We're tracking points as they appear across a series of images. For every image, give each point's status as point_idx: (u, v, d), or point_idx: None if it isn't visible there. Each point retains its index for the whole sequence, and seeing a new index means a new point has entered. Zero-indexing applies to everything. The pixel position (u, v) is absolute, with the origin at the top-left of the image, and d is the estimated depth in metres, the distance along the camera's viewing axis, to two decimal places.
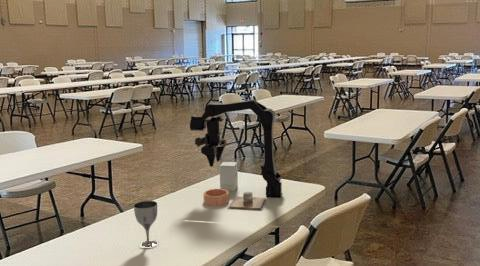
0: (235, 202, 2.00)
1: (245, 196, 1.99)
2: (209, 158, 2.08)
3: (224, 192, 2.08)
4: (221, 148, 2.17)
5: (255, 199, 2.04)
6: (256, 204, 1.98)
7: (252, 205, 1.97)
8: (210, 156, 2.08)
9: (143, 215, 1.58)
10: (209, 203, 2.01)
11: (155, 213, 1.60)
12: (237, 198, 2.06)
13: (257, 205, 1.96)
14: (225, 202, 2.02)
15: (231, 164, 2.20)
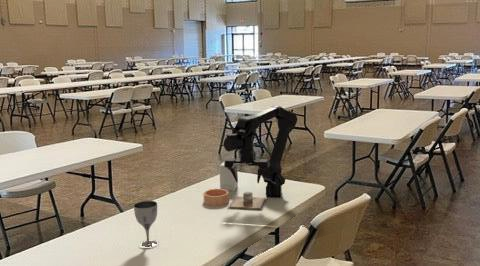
0: (235, 202, 2.00)
1: (245, 196, 1.99)
2: None
3: (224, 192, 2.08)
4: (258, 170, 1.95)
5: (255, 199, 2.04)
6: (256, 204, 1.98)
7: (252, 205, 1.97)
8: None
9: (143, 215, 1.58)
10: (209, 203, 2.01)
11: (155, 213, 1.60)
12: (237, 198, 2.06)
13: (257, 205, 1.96)
14: (225, 202, 2.02)
15: None
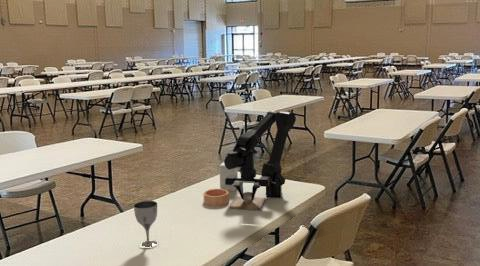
0: (235, 202, 2.00)
1: (245, 196, 1.99)
2: None
3: (224, 192, 2.08)
4: None
5: (255, 199, 2.04)
6: (256, 204, 1.98)
7: (252, 205, 1.97)
8: None
9: (143, 215, 1.58)
10: (209, 203, 2.01)
11: (155, 213, 1.60)
12: (237, 198, 2.06)
13: (257, 205, 1.96)
14: (225, 202, 2.02)
15: None
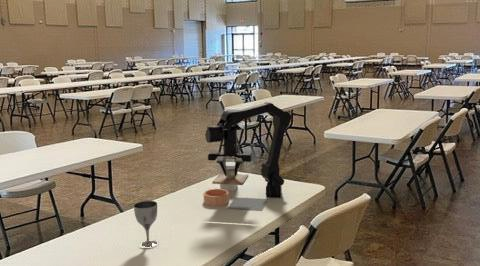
0: (218, 178, 2.00)
1: (228, 172, 1.98)
2: None
3: (224, 192, 2.08)
4: None
5: (238, 176, 2.04)
6: (239, 180, 1.98)
7: (235, 181, 1.96)
8: None
9: (143, 215, 1.58)
10: (209, 203, 2.01)
11: (155, 213, 1.60)
12: (220, 175, 2.05)
13: (240, 181, 1.96)
14: (225, 202, 2.02)
15: (231, 164, 2.20)
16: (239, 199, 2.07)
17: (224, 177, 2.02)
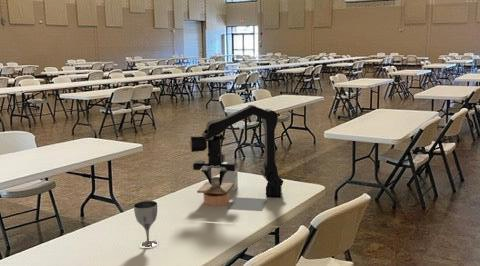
0: (203, 187, 2.03)
1: (213, 181, 2.02)
2: None
3: None
4: None
5: (223, 184, 2.07)
6: (223, 189, 2.01)
7: (219, 190, 2.00)
8: None
9: (143, 215, 1.58)
10: (209, 203, 2.01)
11: (155, 213, 1.60)
12: (206, 183, 2.09)
13: (224, 190, 1.99)
14: (225, 202, 2.02)
15: None
16: (239, 199, 2.07)
17: (209, 186, 2.05)
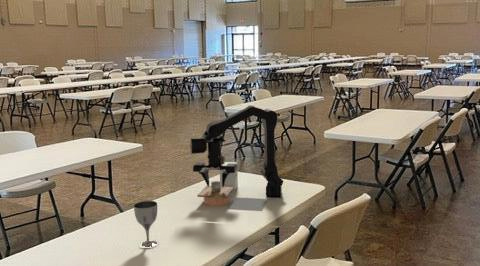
0: (204, 191, 2.04)
1: (213, 185, 2.02)
2: None
3: None
4: None
5: (223, 188, 2.07)
6: (223, 193, 2.01)
7: (219, 194, 2.00)
8: None
9: (143, 215, 1.58)
10: (209, 203, 2.01)
11: (155, 213, 1.60)
12: (206, 187, 2.09)
13: (224, 194, 2.00)
14: (225, 202, 2.02)
15: None
16: (239, 199, 2.07)
17: (210, 190, 2.06)
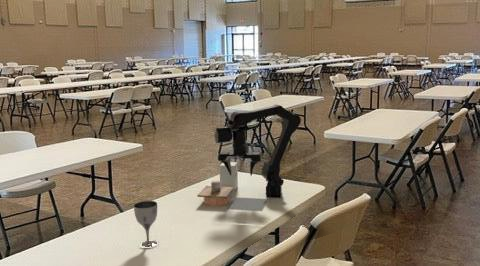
0: (204, 191, 2.04)
1: (213, 185, 2.02)
2: None
3: None
4: None
5: (223, 188, 2.07)
6: (223, 193, 2.01)
7: (219, 194, 2.00)
8: None
9: (143, 215, 1.58)
10: (209, 203, 2.01)
11: (155, 213, 1.60)
12: (206, 187, 2.09)
13: (224, 194, 2.00)
14: (225, 202, 2.02)
15: (231, 164, 2.20)
16: (239, 199, 2.07)
17: (210, 190, 2.06)
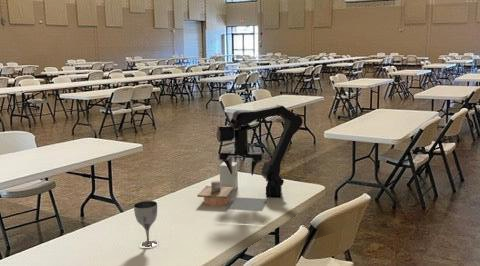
0: (204, 191, 2.04)
1: (213, 185, 2.02)
2: None
3: None
4: (252, 162, 2.00)
5: (223, 188, 2.07)
6: (223, 193, 2.01)
7: (219, 194, 2.00)
8: None
9: (143, 215, 1.58)
10: (209, 203, 2.01)
11: (155, 213, 1.60)
12: (206, 187, 2.09)
13: (224, 194, 2.00)
14: (225, 202, 2.02)
15: None
16: (239, 199, 2.07)
17: (210, 190, 2.06)
